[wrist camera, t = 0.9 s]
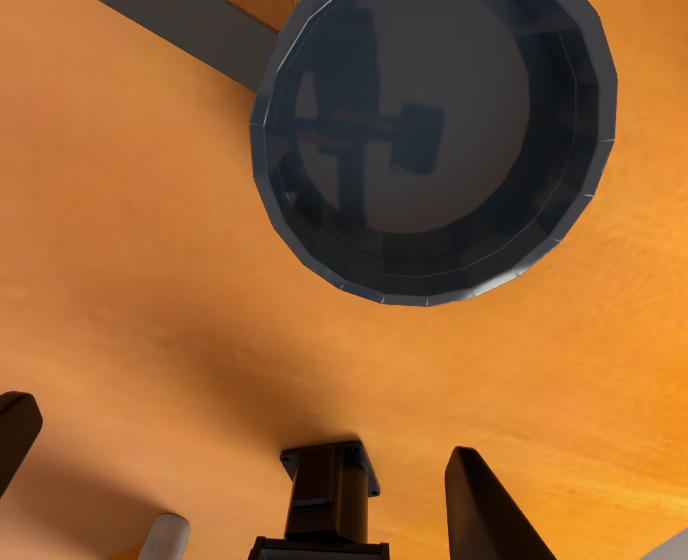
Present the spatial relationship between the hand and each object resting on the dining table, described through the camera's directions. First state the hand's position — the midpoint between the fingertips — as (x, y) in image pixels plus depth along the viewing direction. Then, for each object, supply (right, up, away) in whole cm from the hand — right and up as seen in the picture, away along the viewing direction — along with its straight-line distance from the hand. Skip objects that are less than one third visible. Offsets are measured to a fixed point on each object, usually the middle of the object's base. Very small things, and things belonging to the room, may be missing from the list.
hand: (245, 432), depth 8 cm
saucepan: (+5, +10, +10) cm, 15 cm away
